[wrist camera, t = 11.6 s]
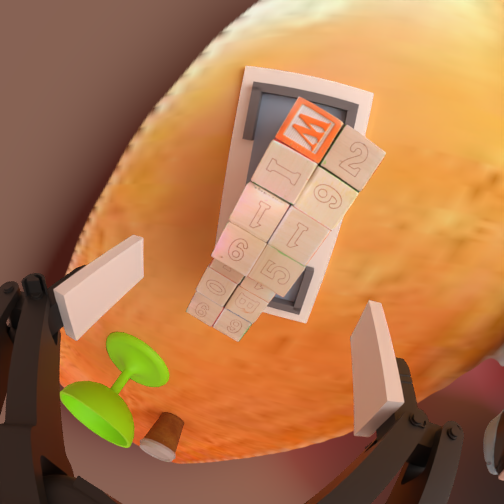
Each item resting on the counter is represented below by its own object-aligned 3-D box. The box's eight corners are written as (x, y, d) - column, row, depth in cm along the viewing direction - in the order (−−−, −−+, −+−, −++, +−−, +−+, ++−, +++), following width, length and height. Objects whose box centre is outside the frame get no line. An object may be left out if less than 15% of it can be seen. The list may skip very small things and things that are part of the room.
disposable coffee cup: (151, 405, 59) (131, 439, 48) (181, 412, 56) (162, 450, 46) (165, 424, 62) (148, 456, 52) (194, 431, 60) (179, 466, 49)
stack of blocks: (256, 294, 34) (229, 364, 24) (213, 268, 34) (169, 329, 23) (358, 145, 25) (389, 152, 14) (305, 112, 24) (299, 93, 14)
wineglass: (182, 387, 51) (147, 455, 35) (132, 383, 56) (96, 437, 40) (142, 329, 46) (87, 399, 30) (95, 333, 51) (47, 386, 35)
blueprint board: (372, 94, 24) (376, 91, 22) (306, 319, 37) (305, 328, 35) (247, 67, 25) (242, 63, 23) (210, 293, 39) (205, 300, 37)
